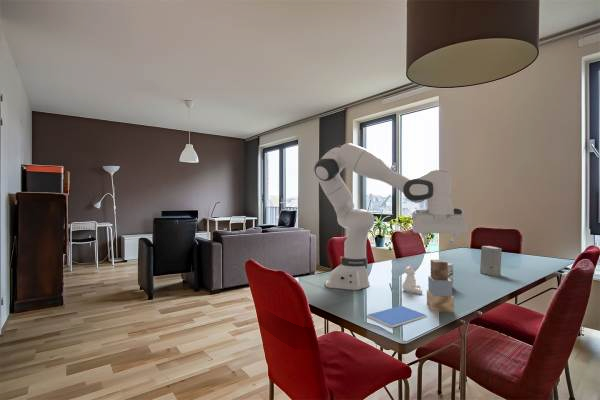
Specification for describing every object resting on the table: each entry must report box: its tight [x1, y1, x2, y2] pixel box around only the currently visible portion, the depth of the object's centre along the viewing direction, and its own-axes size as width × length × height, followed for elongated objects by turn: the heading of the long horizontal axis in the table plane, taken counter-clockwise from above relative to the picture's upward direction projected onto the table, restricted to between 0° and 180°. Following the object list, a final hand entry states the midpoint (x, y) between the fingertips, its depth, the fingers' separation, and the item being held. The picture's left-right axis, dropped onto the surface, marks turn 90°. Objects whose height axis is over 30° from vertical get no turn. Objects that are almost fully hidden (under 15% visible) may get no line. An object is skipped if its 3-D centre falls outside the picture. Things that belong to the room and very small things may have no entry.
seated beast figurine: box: [402, 265, 423, 295], centre depth 145 cm, size 10×9×12 cm
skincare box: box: [479, 245, 503, 277], centre depth 176 cm, size 8×7×16 cm
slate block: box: [427, 275, 453, 297], centre depth 122 cm, size 7×7×6 cm
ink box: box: [448, 262, 454, 289], centre depth 150 cm, size 8×5×12 cm, turn 123°
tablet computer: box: [366, 305, 428, 329], centre depth 114 cm, size 19×13×1 cm, turn 121°
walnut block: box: [430, 259, 449, 280], centre depth 122 cm, size 5×5×7 cm
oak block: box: [426, 289, 455, 313], centre depth 122 cm, size 8×8×6 cm
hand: (439, 244), depth 122 cm, fingers open, 8 cm apart
